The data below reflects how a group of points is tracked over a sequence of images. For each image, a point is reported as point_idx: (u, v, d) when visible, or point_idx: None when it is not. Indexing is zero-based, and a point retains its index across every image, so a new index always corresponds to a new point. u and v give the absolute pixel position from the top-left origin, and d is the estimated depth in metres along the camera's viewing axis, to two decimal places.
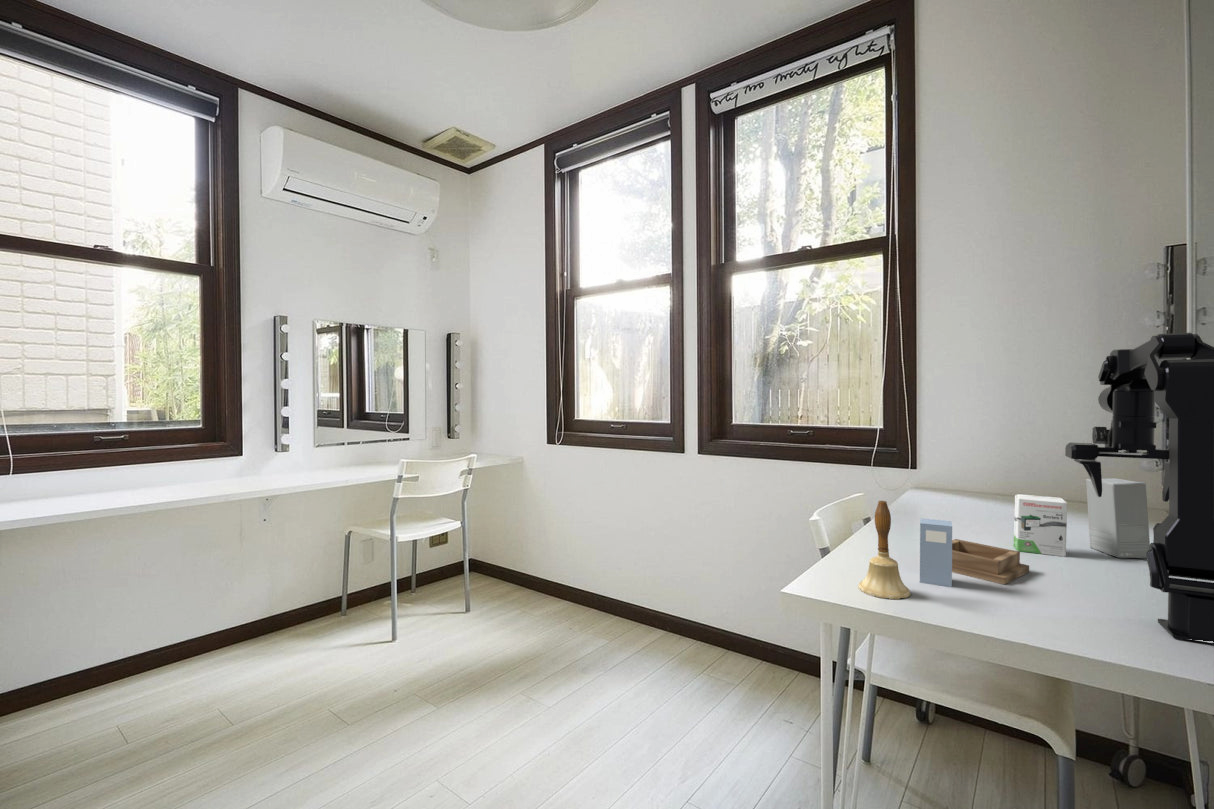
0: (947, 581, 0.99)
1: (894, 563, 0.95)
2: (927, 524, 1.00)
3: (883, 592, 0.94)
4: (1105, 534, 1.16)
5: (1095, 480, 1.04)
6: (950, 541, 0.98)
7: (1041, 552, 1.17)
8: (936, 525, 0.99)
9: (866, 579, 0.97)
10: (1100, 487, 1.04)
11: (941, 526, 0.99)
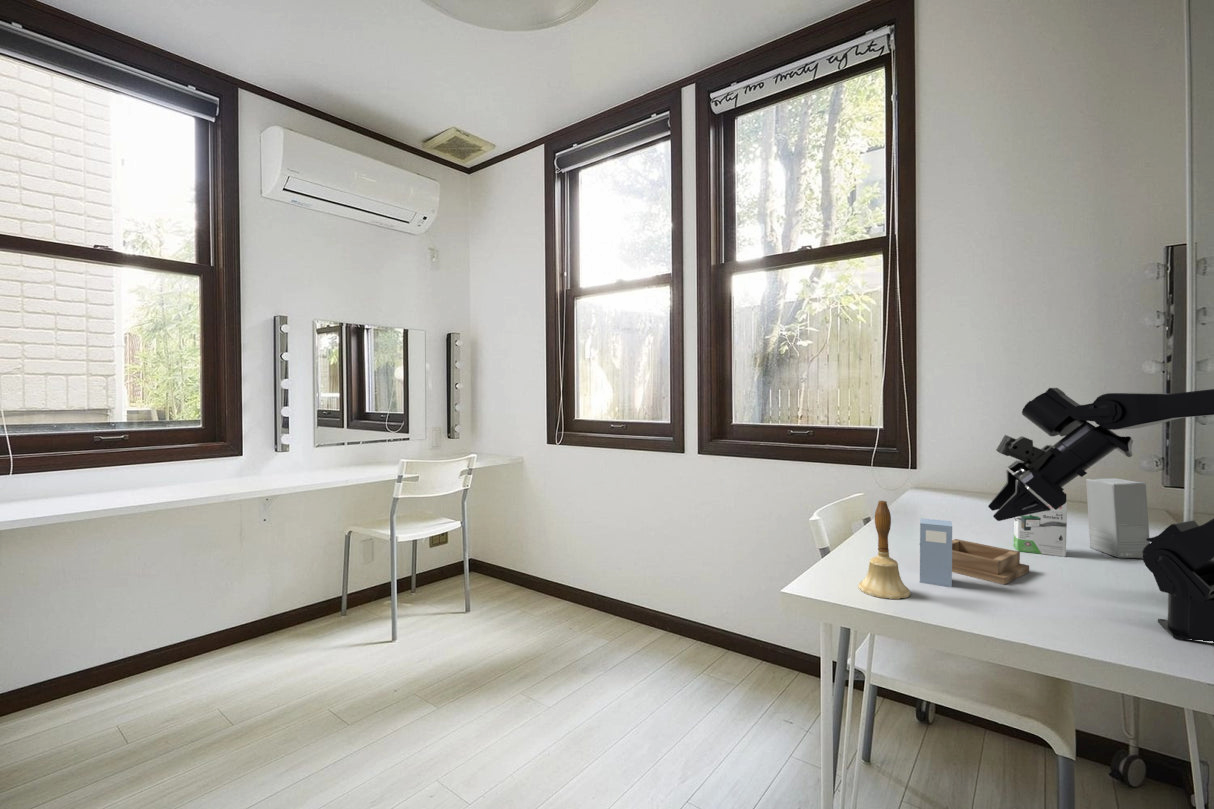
0: (947, 581, 0.99)
1: (894, 563, 0.95)
2: (927, 524, 1.00)
3: (883, 592, 0.94)
4: (1105, 534, 1.16)
5: (1022, 515, 0.90)
6: (950, 541, 0.98)
7: (1041, 552, 1.17)
8: (936, 525, 0.99)
9: (866, 579, 0.97)
10: None
11: (941, 526, 0.99)
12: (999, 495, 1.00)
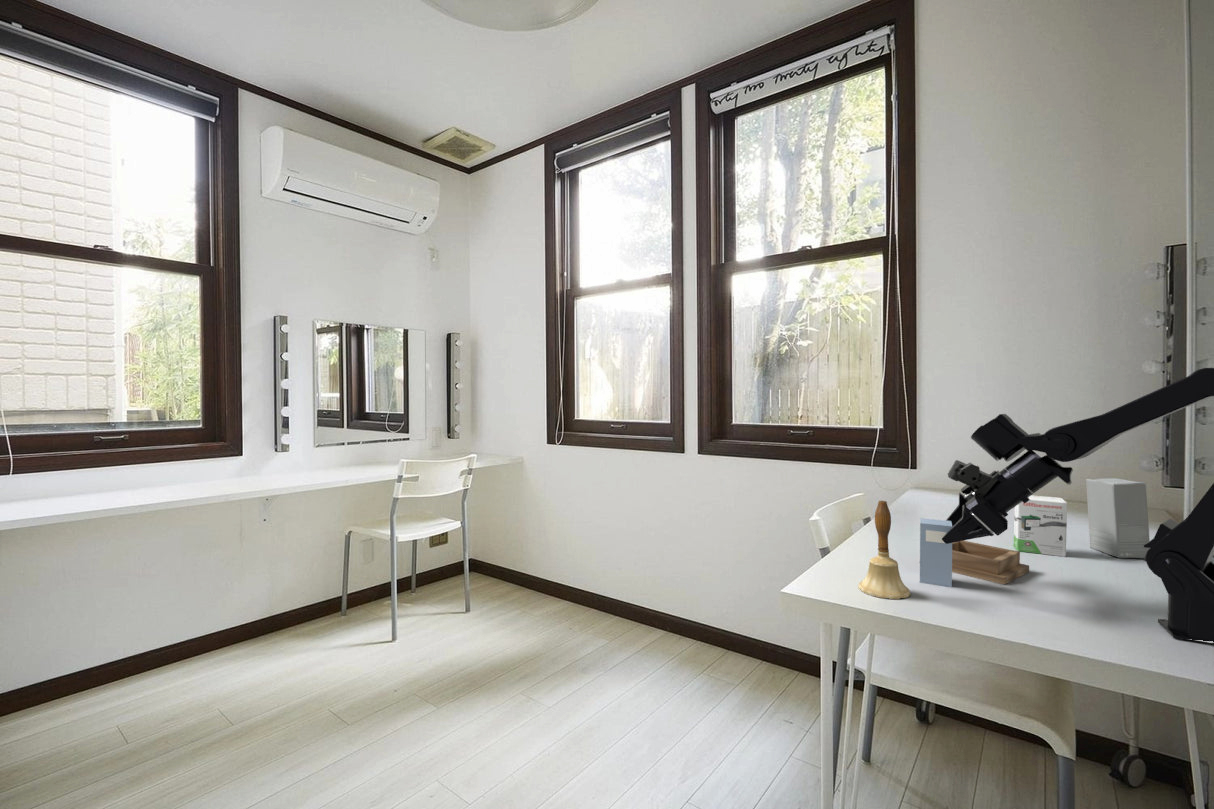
0: (947, 581, 0.99)
1: (894, 563, 0.95)
2: (927, 524, 1.00)
3: (883, 592, 0.94)
4: (1105, 534, 1.16)
5: (968, 539, 0.94)
6: None
7: (1041, 552, 1.17)
8: (936, 525, 0.99)
9: (866, 579, 0.97)
10: None
11: (941, 526, 0.99)
12: (951, 517, 1.04)
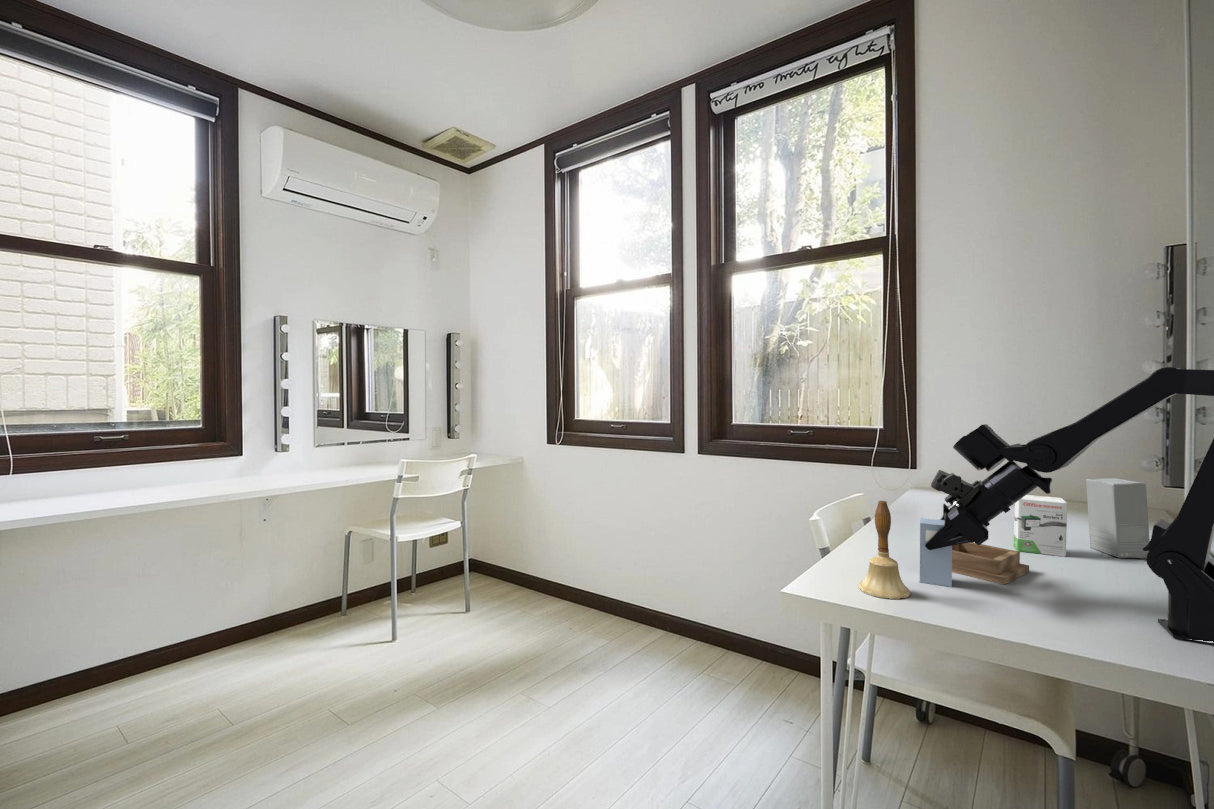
0: (947, 581, 0.99)
1: (894, 563, 0.95)
2: (927, 524, 1.00)
3: (883, 592, 0.94)
4: (1105, 534, 1.16)
5: (950, 545, 0.97)
6: None
7: (1041, 552, 1.17)
8: (936, 525, 0.99)
9: (866, 579, 0.97)
10: None
11: (941, 526, 0.99)
12: None
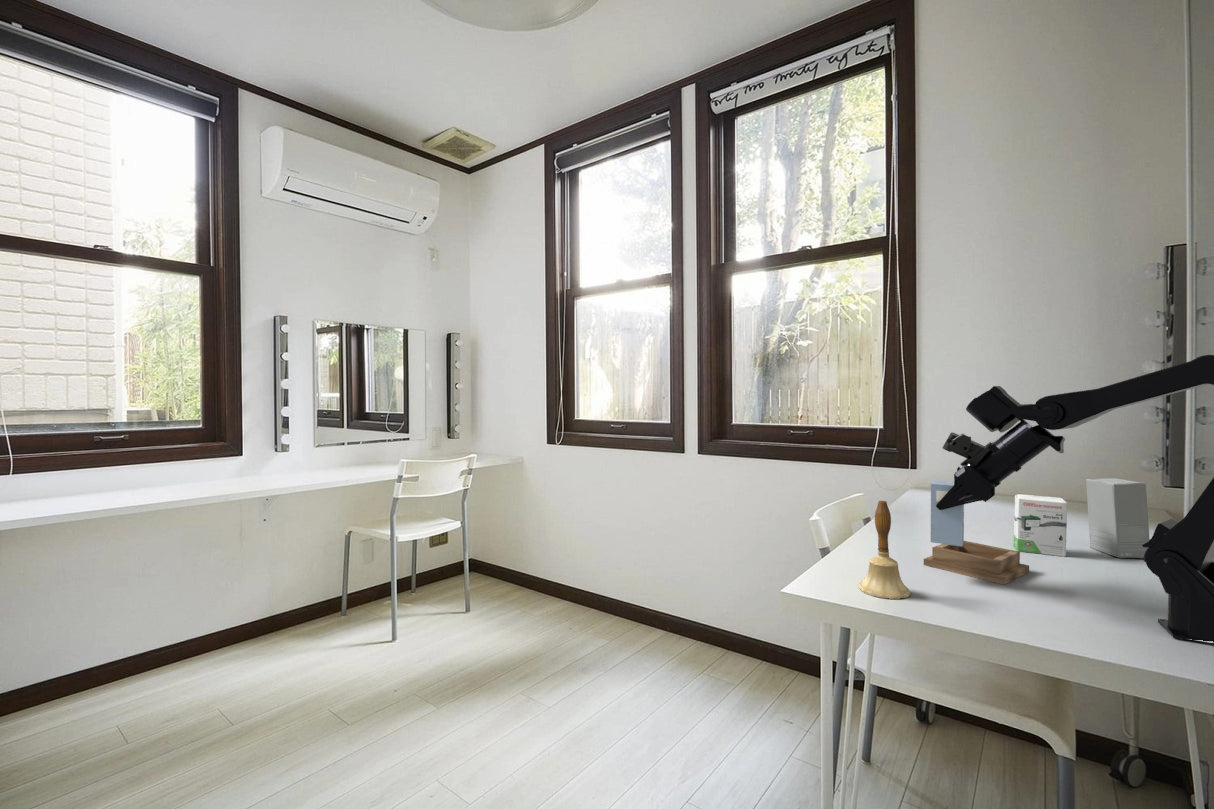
0: (958, 540, 1.00)
1: (894, 563, 0.95)
2: (938, 485, 1.02)
3: (883, 592, 0.94)
4: (1105, 534, 1.16)
5: None
6: None
7: (1041, 552, 1.17)
8: (947, 485, 1.01)
9: (866, 579, 0.97)
10: None
11: (951, 486, 1.00)
12: None
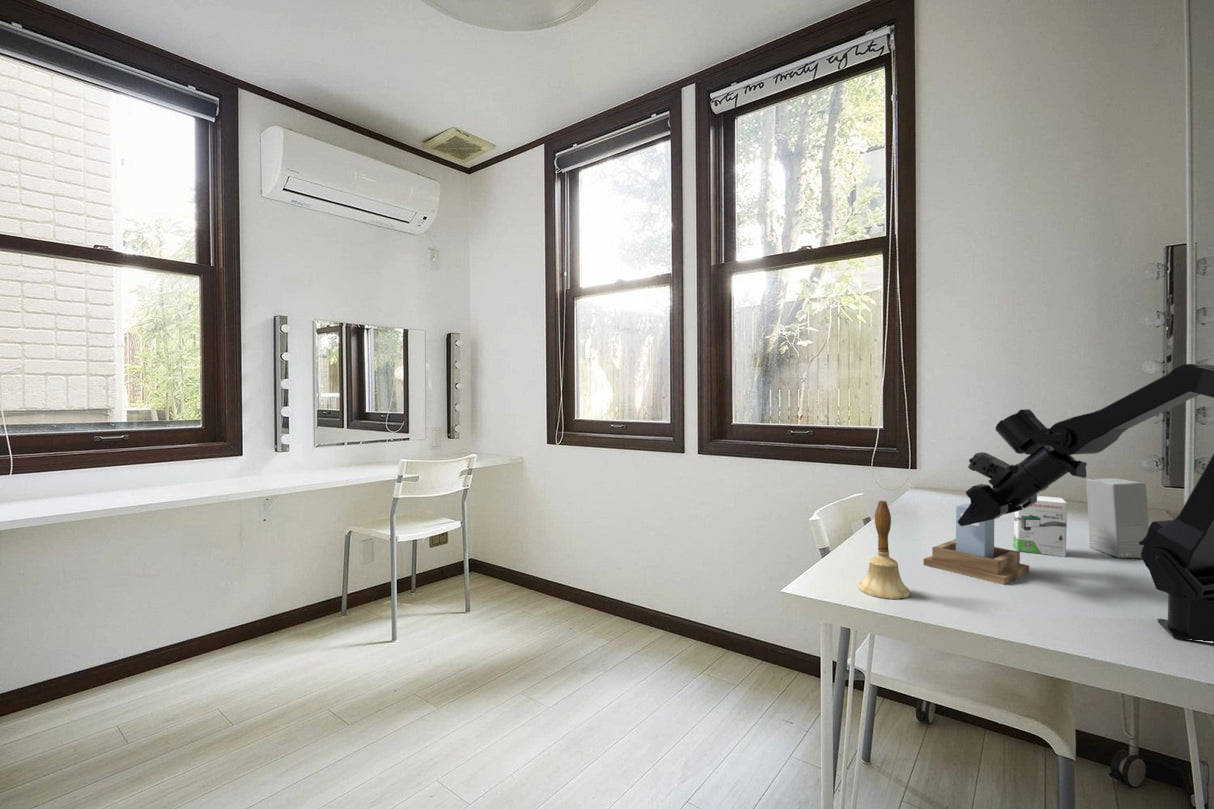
0: None
1: (894, 563, 0.95)
2: (963, 507, 1.08)
3: (883, 592, 0.94)
4: (1105, 534, 1.16)
5: (977, 522, 1.04)
6: (983, 524, 1.05)
7: (1041, 552, 1.17)
8: None
9: (866, 579, 0.97)
10: (972, 523, 1.05)
11: None
12: None
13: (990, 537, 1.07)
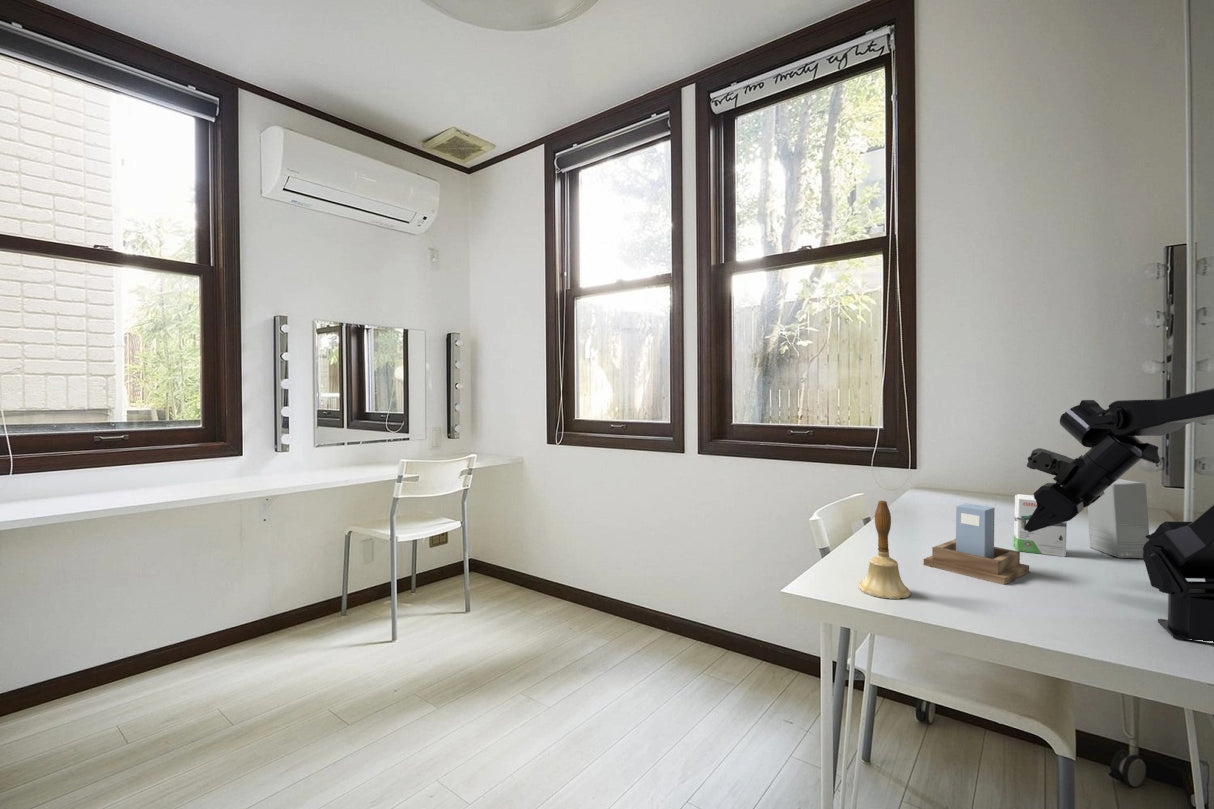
0: None
1: (894, 563, 0.95)
2: (963, 507, 1.08)
3: (883, 592, 0.94)
4: (1105, 534, 1.16)
5: (1048, 526, 0.95)
6: (983, 524, 1.05)
7: (1041, 552, 1.17)
8: (971, 509, 1.07)
9: (866, 579, 0.97)
10: (1041, 528, 0.96)
11: (975, 510, 1.06)
12: None
13: (990, 537, 1.07)
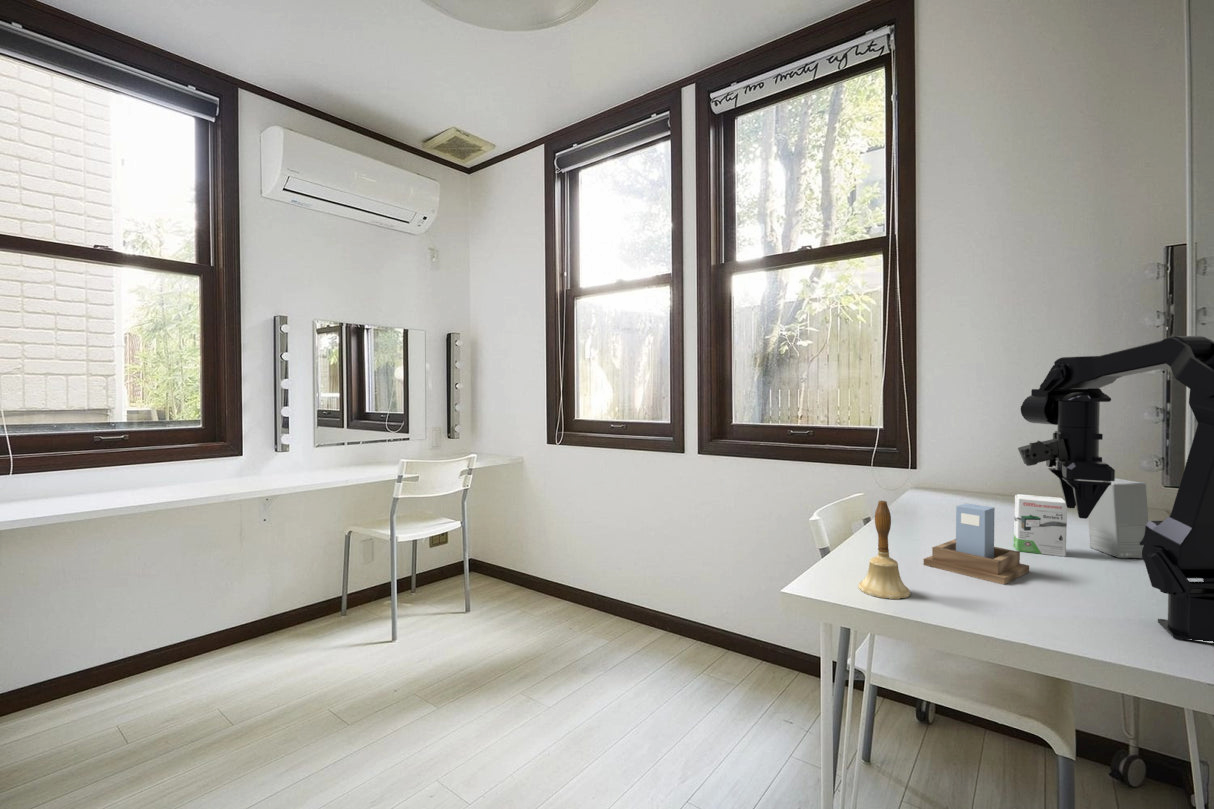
0: None
1: (894, 563, 0.95)
2: (963, 507, 1.08)
3: (883, 592, 0.94)
4: (1105, 534, 1.16)
5: (1097, 501, 0.93)
6: (983, 524, 1.05)
7: (1041, 552, 1.17)
8: (971, 509, 1.07)
9: (866, 579, 0.97)
10: None
11: (975, 510, 1.06)
12: (1065, 492, 1.03)
13: (990, 537, 1.07)
